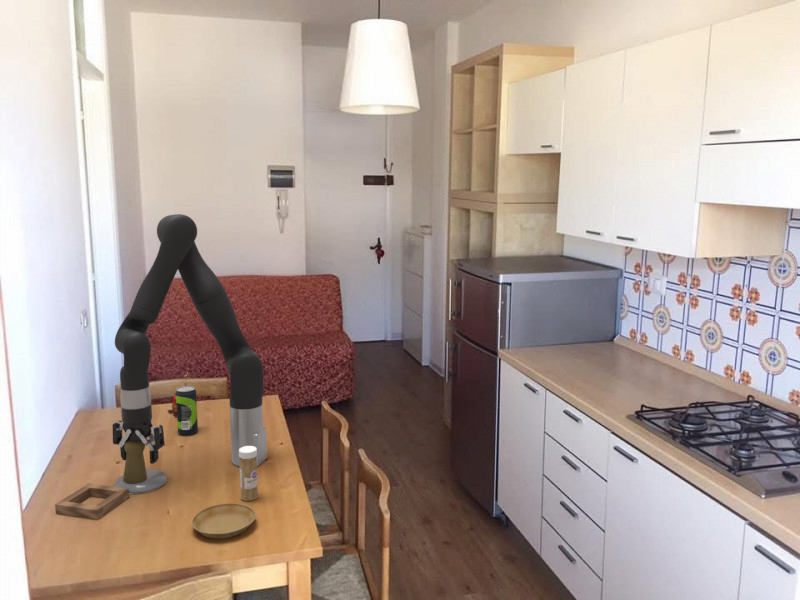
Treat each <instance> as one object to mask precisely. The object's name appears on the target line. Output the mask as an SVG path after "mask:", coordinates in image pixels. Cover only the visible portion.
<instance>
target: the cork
mask: <svg viewBox="0 0 800 600" xmlns="http://www.w3.org/2000/svg"><path fill="white" fill-rule="evenodd" d="M145 448H146V445H145V444H144V443H143V442H142V441H137V440H134V441H133V440H131V439H130V440H128V441H127V442H126V443H125V445H124V449H125V452H126V453H127V454H126V460H125V461H124V462H125V463H124V470H123V471H124V472H123V475H124V477H123V481H124V482H125V483H129V484H136V483H140V482H143V481H145V480H146V479H147V474H146V470H147V469H146V462H145V456H144V451H145Z"/></svg>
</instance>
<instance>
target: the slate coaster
mask: <svg viewBox="0 0 800 600" xmlns="http://www.w3.org/2000/svg"><path fill="white" fill-rule="evenodd" d="M146 474H147V479H146V480H145V481H143V482H140V483H136V484H129V483H125V482H124V481H123V477H124V474H123V475H121V476H120V477H118V478H117V479H116V481H115V483H114V485H115V486H114V487H120V488H127V489H129V493H133V494H132V495H140V494H139V493H142V494H145V493H144V492H147V493H149V492H148V491H151V492H153V491H152V490H154V491H156V490H158V489H157V488H159V489H160V488H162V487H164V486H165V484H166V483H167V482H168V481H167V480H168V479H167V477H168V476H167V474H166V473H165V472H164V471H162V470H158V469H146ZM161 486H162V487H161ZM155 489H156V490H155ZM136 493H137V494H136Z"/></svg>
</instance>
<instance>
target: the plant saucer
mask: <svg viewBox="0 0 800 600" xmlns="http://www.w3.org/2000/svg"><path fill="white" fill-rule="evenodd" d="M256 515H257V514H256V511H255V510H254V509H253V508H252V507H251V506H249V505H247V504H243V503H236V502H230V503H229V502H226V503H219V504H214V505H212V506H211V505H210V506H208V507H206V508H203V509H201V510H200V511H198V512H197V513H196V514H195V515H193V516H192V519H191V527H192V528H194V530H195V531H196V532H198V533H199V534H200V535H202V536H204V537H206V538H210V539H216V540H217V539H218V540H220V539H228V538H229V539H230V538H232V537H235V536H237V535H240V534H242V533H243V532H244V531H245V530H247V529H248V528H249V527H250V526H251V525H252V523H253V522H254V521H255V519H256V517H257V516H256Z"/></svg>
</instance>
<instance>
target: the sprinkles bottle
mask: <svg viewBox="0 0 800 600" xmlns="http://www.w3.org/2000/svg"><path fill="white" fill-rule="evenodd" d="M256 457H257V448H256V447H254V446H244V447H242V448H240V449H239V458H240V466H239V483H240V484H239V485H240V486H239V487H240V499H241V500H242V501H244V502H250V501H251V502H252V501H254V500H256V499H258V498H259V493H258V485H259V484H258V466H257V460H256Z"/></svg>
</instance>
